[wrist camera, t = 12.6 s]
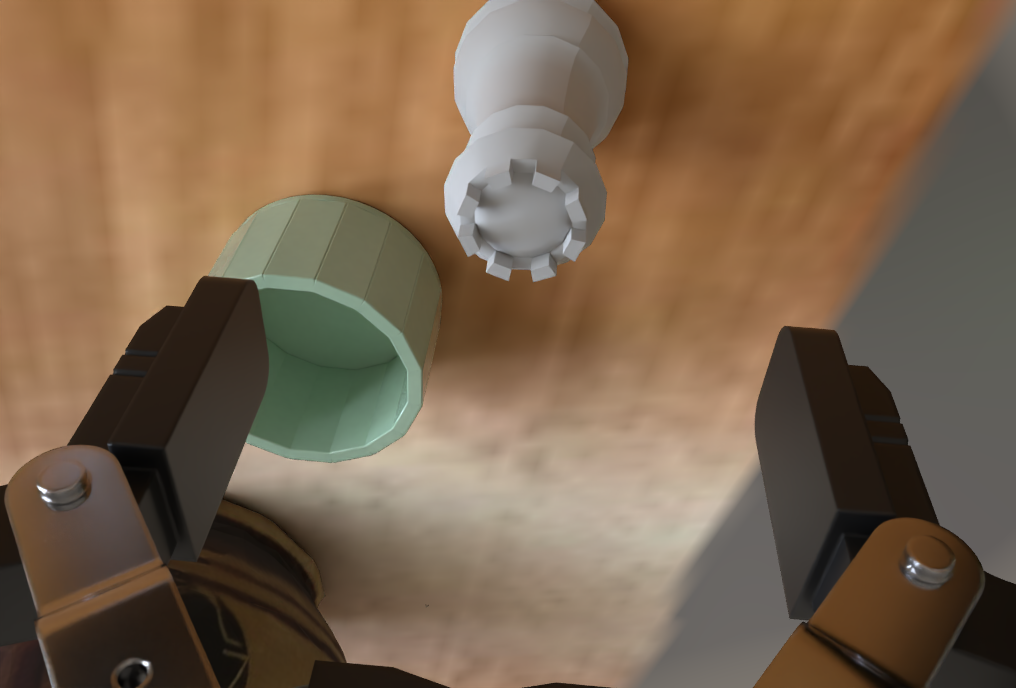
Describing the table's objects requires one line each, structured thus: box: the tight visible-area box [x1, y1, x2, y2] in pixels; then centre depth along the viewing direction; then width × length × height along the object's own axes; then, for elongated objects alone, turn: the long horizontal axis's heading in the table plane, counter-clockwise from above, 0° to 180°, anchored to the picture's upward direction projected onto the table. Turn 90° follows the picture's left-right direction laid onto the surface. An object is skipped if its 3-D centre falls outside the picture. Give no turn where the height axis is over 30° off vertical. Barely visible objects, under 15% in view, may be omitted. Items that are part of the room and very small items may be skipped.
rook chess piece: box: [444, 0, 628, 282], centre depth 20 cm, size 4×4×8 cm
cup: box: [208, 195, 442, 463], centre depth 27 cm, size 7×7×4 cm
